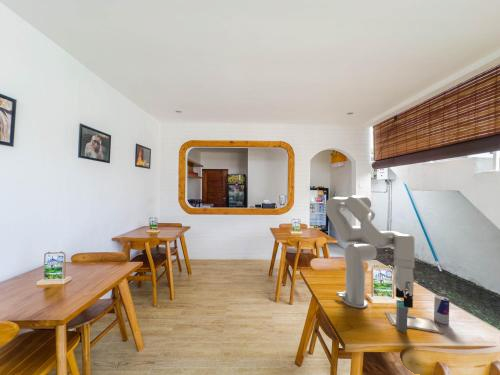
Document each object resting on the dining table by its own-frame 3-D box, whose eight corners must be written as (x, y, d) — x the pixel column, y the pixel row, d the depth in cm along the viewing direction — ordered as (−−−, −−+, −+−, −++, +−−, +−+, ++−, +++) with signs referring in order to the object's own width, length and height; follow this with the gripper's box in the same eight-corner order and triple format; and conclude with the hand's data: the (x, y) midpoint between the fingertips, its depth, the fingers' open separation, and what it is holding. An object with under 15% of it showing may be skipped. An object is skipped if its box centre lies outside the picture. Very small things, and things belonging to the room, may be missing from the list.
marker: (398, 331, 101) (399, 303, 101) (395, 326, 104) (396, 300, 104) (408, 333, 100) (409, 305, 100) (405, 328, 103) (406, 301, 103)
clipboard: (391, 325, 105) (391, 322, 105) (384, 312, 116) (384, 310, 116) (444, 334, 100) (444, 331, 100) (431, 320, 110) (431, 317, 110)
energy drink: (448, 328, 104) (449, 301, 104) (433, 323, 108) (434, 297, 108) (448, 323, 108) (449, 297, 108) (434, 318, 112) (435, 293, 112)
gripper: (388, 256, 111) (388, 293, 111) (401, 267, 94) (401, 310, 94) (406, 258, 109) (406, 295, 109) (422, 269, 92) (422, 313, 92)
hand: (403, 302), depth 101 cm, fingers open, 9 cm apart
